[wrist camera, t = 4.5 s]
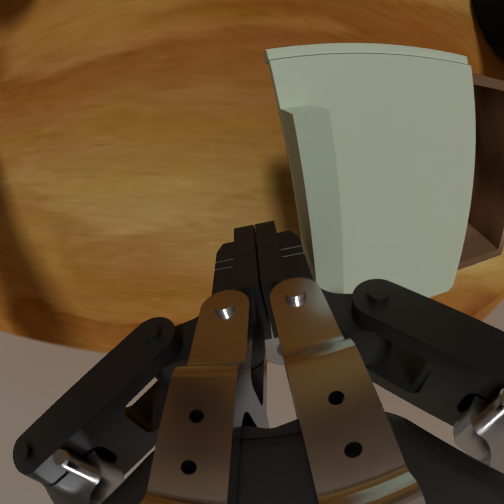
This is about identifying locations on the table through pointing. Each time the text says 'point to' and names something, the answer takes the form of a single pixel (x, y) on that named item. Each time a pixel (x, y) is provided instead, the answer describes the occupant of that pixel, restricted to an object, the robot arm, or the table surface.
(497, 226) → the condiment box
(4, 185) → the table surface
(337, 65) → the lid
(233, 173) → the table surface
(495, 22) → the coffee jar
